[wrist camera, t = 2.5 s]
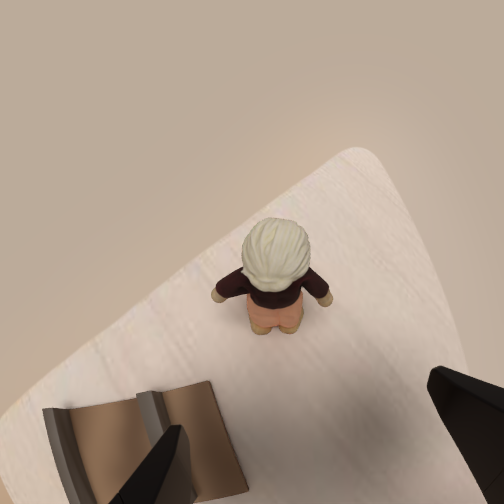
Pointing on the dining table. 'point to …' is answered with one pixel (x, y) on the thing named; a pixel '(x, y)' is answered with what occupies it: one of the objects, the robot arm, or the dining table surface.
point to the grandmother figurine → (274, 276)
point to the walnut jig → (141, 443)
